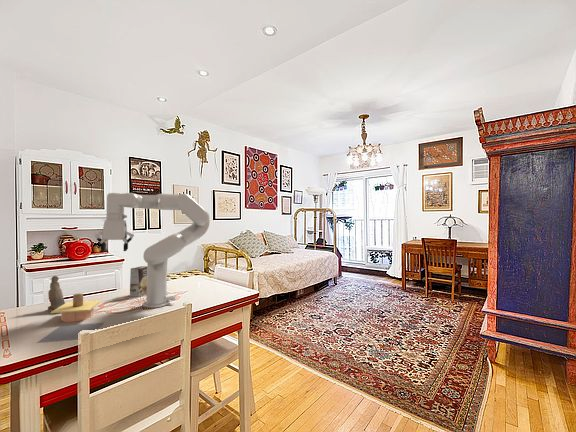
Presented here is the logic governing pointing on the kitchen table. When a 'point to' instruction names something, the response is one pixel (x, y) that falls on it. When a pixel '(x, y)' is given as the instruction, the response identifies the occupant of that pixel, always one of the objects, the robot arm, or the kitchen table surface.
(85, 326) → the mat
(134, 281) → the coffee box
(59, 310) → the sheet
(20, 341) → the kitchen table surface
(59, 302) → the worn brown figurine
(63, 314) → the bowl
